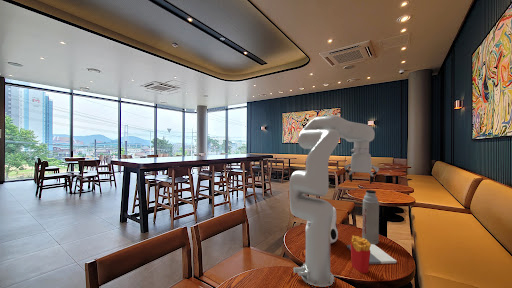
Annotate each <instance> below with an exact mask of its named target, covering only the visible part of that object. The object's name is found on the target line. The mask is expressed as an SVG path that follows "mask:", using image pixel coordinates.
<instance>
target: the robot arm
mask: <svg viewBox="0 0 512 288" xmlns="http://www.w3.org/2000/svg"><path fill="white" fill-rule="evenodd" d="M299 132H300V133H299V134H298V137H297V142H298V145H299V147H301V148H302V149H304V150H310V151H309V153H308V154H307V156H306V159H305V170H303V169H298V170H294V171H293V172H292V174H291V175H290V178H289V183H288V188H289V189H288V191H289V207H290V208H289V209H290V212H291V214H292V215H293V216H294V217H296V218H299V219H301V220H305V221H310V222H311V225H310V226H309V228H308V229H307V230H306V229H305V259H304V260H305V262H304V263H303V264H302V265H301V266H300V267H297V266H295V267H293V273H295V274H296V273H297V275H298V277H301V278H302V280H303V282H305V284H307V283H308V284H307V285H309V284H310V285H314V286H319V287H326V286H330V285H332V284H333V282H334V283H335V276H334V275H333V273H332V272H331V244H330V235H331V223H332V218H333V207H334V206H333V204H331V202H329V201H327V200H325V199H323V198H318V197H324V196H326V195H327V194H328V192H329V160H330V157H331V155H332V153H333V152H334V150H335V148H336V147H337V146H338V144H339V142H340V138H341V139H343V140H346V142H349V143H353V148H352V149H350V152H352V154H351V159H350V163H349V164H347V165H344V167H343V168H344V169H345V172H346V173H347V174H348V175H349V176H348V180H349V181H350V183H352V182H353V173H354V172H355V173H365V174H366V173H367V174H369V175H370V176H369V184H370V185H372V183H374V176H375V175H377V173H378V172H379V171H380V168H379V167H377V166H375V165H374V164H372V155H371V154H370V142H372V141H374V140H375V137H376V136H375V135H376V133H375V130H374V128H373V127H372V126H370V125H369V124H365V123H360V122H354V121H349V120H348V119H347V120H346V119H345V118H343V117H341V116H339V115H336V114H335V115H333V114H331V115H322V116H320V115H319V116H315V117H313V118H312V119H311V120H310V121H309V122H308V123H307V124H306V125H305V126H304V127H303V128H302V130H301V131H299ZM349 168H350V170H349ZM372 169H374V170H375V171H374V172H372ZM307 195H308V196H307ZM313 196H315V197H313ZM310 285H309V286H310ZM333 285H334V284H333ZM333 285H332V286H333Z"/></svg>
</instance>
